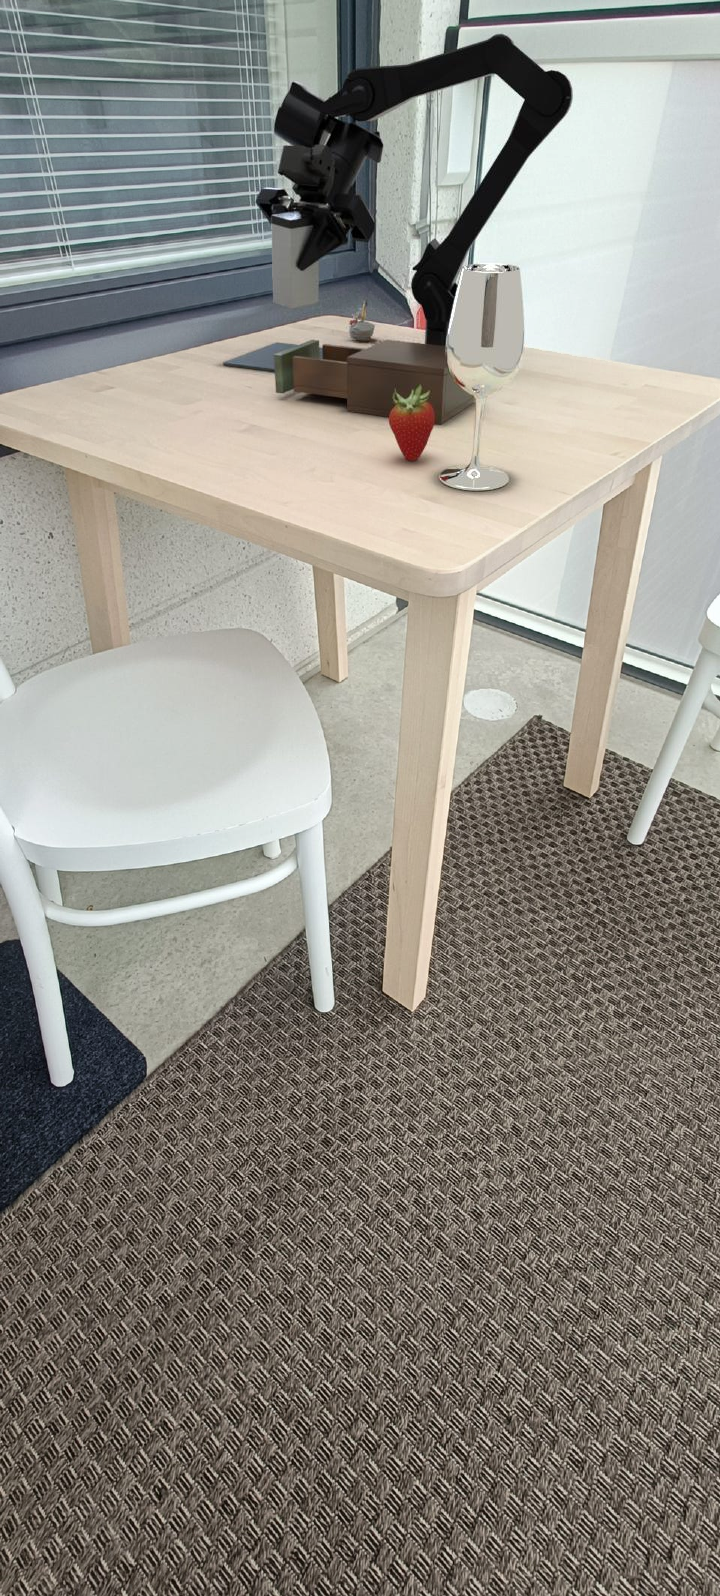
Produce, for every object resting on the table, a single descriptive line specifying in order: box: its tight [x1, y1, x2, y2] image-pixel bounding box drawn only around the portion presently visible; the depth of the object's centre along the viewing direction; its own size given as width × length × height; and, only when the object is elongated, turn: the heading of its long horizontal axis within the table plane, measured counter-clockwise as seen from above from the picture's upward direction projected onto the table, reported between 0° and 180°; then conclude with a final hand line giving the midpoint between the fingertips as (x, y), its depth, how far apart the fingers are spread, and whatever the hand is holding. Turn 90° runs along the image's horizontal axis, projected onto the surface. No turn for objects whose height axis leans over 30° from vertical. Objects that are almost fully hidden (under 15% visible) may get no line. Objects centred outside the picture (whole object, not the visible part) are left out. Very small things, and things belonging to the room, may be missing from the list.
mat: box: [222, 342, 323, 373], centre depth 139 cm, size 16×14×1 cm
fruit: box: [388, 384, 435, 462], centre depth 98 cm, size 5×5×8 cm
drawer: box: [274, 339, 367, 399], centre depth 120 cm, size 14×10×5 cm
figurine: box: [348, 299, 376, 342], centre depth 148 cm, size 5×4×6 cm
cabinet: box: [346, 339, 475, 425], centre depth 116 cm, size 14×12×7 cm
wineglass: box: [438, 262, 525, 492], centre depth 89 cm, size 8×8×20 cm
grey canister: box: [270, 211, 320, 310], centre depth 126 cm, size 6×4×11 cm
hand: (288, 267), depth 125 cm, fingers closed on grey canister, 4 cm apart
